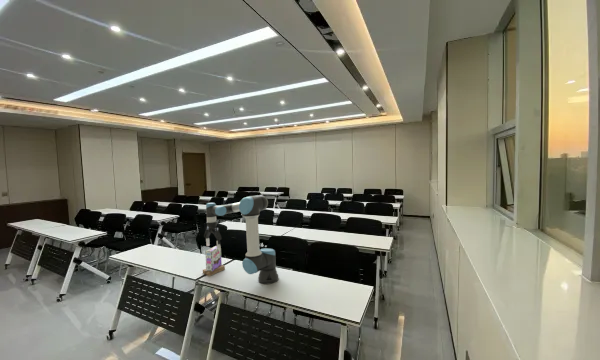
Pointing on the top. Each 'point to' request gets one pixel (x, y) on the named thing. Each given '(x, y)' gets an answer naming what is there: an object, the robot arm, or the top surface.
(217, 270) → the plinth
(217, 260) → the candy box
